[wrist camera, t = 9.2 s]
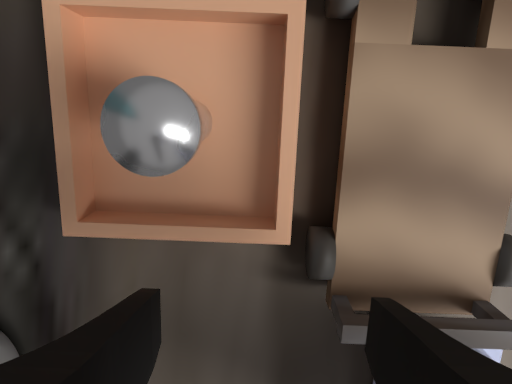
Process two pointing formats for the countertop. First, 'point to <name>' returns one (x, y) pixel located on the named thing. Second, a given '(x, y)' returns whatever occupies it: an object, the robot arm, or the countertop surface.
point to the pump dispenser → (6, 349)
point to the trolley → (421, 175)
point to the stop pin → (153, 125)
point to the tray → (200, 89)
